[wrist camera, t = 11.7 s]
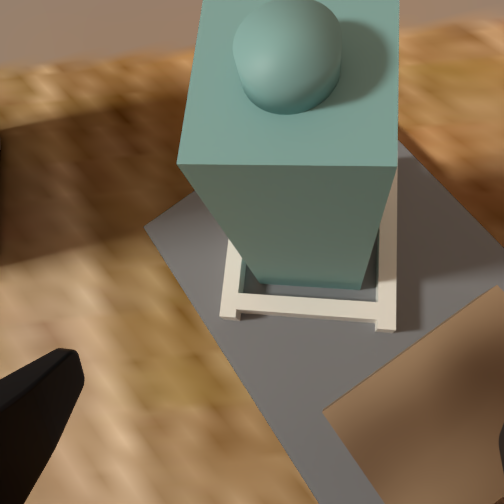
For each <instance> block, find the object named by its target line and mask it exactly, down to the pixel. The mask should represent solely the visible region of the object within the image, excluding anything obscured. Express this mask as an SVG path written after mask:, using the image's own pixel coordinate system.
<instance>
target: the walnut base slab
mask: <svg viewBox="0 0 504 504" xmlns="http://www.w3.org/2000/svg"><path fill="white" fill-rule="evenodd" d="M322 413H323V414H324V416H325V417H326V419H327V420H328V422H329V423H330V425H331V426H332V427H333V429H334V430H335V432H336V433H337V435H338V436H339V438H340V439H341V441H342V442H343V443H344V445H345V446H346V448H347V449H348V451H349V452H350V454H351V455H352V457H353V458H354V459H355V461H356V462H357V464H358V465H359V467H360V468H361V470H362V471H363V473H364V474H365V475H366V477H367V478H368V480H369V481H370V483H371V484H372V486H373V487H374V489H375V490H376V491H377V493H378V494H379V496H380V497H381V499H382V500H383V502H384V503H385V504H494V503H495V502H497V501H498V500H500V499H501V498H502V497H504V473H503V468H502V462H501V456H500V451H499V434H500V431H501V429H502V426H503V423H504V291H503V290H502V289H501V288H500V287H499V286H498V285H496V286H494V287H493V288H491V289H489V290H488V291H486V292H484V293H483V294H481V295H479V296H478V297H476V298H475V299H474V300H472V301H471V302H470V303H468V304H467V305H466V306H464V307H463V308H461V309H460V310H459V311H457V312H456V313H455V314H453V315H452V316H450V317H449V318H448V319H446V320H445V321H444V322H442V323H441V324H439V325H438V326H437V327H435V328H434V329H433V330H431V331H430V332H428V333H427V334H426V335H424V336H423V337H422V338H420V339H419V340H417V341H416V342H415V343H413V344H412V345H411V346H409V347H408V348H406V349H405V350H404V351H402V352H401V353H400V354H398V355H397V356H395V357H394V358H393V359H391V360H390V361H389V362H387V363H386V364H384V365H383V366H382V367H380V368H379V369H378V370H376V371H375V372H373V373H372V374H371V375H369V376H368V377H367V378H365V379H364V380H363V381H361V382H360V383H358V384H357V385H356V386H354V387H353V388H352V389H350V390H349V391H347V392H346V393H345V394H343V395H342V396H341V397H339V398H338V399H336V400H335V401H334V402H332V403H331V404H330V405H328V406H327V407H325V408H324V409H323V411H322Z"/></svg>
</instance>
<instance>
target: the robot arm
mask: <svg viewBox="0 0 504 504" xmlns="http://www.w3.org/2000/svg"><path fill="white" fill-rule="evenodd" d="M83 385H84V373H83V369H82V366H81V362H80V359H79V355H78V353H77V352H76V351H75V350H72V349H64V348H58V349H55V350H53V351H51V352H50V353H48V354H46V355H44V356H42V357H40V358H39V359H37V360H35V361H33V362H31V363H30V364H28V365H26V366H24V367H22V368H20V369H19V370H17V371H15V372H13V373H11V374H9V375H8V376H6V377H4V378H2V379H0V504H24V503H25V501H26V499H27V497H28V496H29V494H30V492H31V490H32V489H33V487H34V485H35V483H36V482H37V480H38V478H39V477H40V475H41V473H42V471H43V470H44V468H45V466H46V464H47V463H48V461H49V459H50V457H51V455H52V453H53V452H54V450H55V448H56V446H57V444H58V442H59V440H60V437H61V435H62V433H63V431H64V428H65V426H66V424H67V422H68V420H69V417H70V415H71V413H72V411H73V408H74V406H75V404H76V402H77V400H78V397H79V395H80V393H81V391H82V388H83ZM499 451H500V456H501V462H502V468H503V473H504V423H503V426H502V429H501V431H500V434H499Z"/></svg>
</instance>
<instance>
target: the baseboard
mask: <svg viewBox="0 0 504 504" xmlns="http://www.w3.org/2000/svg"><path fill="white" fill-rule="evenodd" d="M144 229H145V230H146V232H147V234H148V235H149V237H150V238H151V240H152V242H153V243H154V245H155V246H156V248H157V249H158V251H159V253H160V254H161V256H162V257H163V259H164V260H165V262H166V264H167V265H168V267H169V268H170V270H171V271H172V273H173V275H174V276H175V278H176V279H177V281H178V282H179V284H180V286H181V287H182V289H183V290H184V292H185V293H186V295H187V297H188V298H189V300H190V301H191V303H192V304H193V306H194V308H195V309H196V311H197V312H198V314H199V315H200V317H201V319H202V320H203V322H204V323H205V325H206V326H207V328H208V330H209V331H210V333H211V334H212V336H213V338H214V339H215V341H216V342H217V344H218V345H219V347H220V349H221V350H222V352H223V353H224V355H225V356H226V358H227V360H228V361H229V363H230V364H231V366H232V367H233V369H234V371H235V372H236V374H237V375H238V377H239V378H240V380H241V382H242V383H243V385H244V386H245V388H246V389H247V391H248V393H249V394H250V396H251V397H252V399H253V400H254V402H255V404H256V405H257V407H258V408H259V410H260V411H261V413H262V415H263V416H264V418H265V419H266V421H267V423H268V424H269V426H270V427H271V429H272V430H273V432H274V434H275V435H276V437H277V438H278V440H279V441H280V443H281V445H282V446H283V448H284V449H285V451H286V452H287V454H288V456H289V457H290V459H291V460H292V462H293V463H294V465H295V467H296V468H297V470H298V471H299V473H300V474H301V476H302V478H303V479H304V481H305V482H306V484H307V485H308V487H309V489H310V490H311V492H312V493H313V495H314V496H315V498H316V500H317V501H318V503H319V504H385V503H384V502H383V500H382V499H381V497H380V496H379V494H378V493H377V491H376V490H375V489H374V487H373V486H372V484H371V483H370V481H369V480H368V478H367V477H366V475H365V474H364V473H363V471H362V470H361V468H360V467H359V465H358V464H357V462H356V461H355V459H354V458H353V457H352V455H351V454H350V452H349V451H348V449H347V448H346V446H345V445H344V443H343V442H342V441H341V439H340V438H339V436H338V435H337V433H336V432H335V430H334V429H333V427H332V426H331V425H330V423H329V422H328V420H327V419H326V417H325V416H324V414H323V413H322V411H323V409H324V408H325V407H327V406H328V405H330V404H331V403H332V402H334V401H335V400H336V399H338V398H339V397H341V396H342V395H343V394H345V393H346V392H347V391H349V390H350V389H352V388H353V387H354V386H356V385H357V384H358V383H360V382H361V381H363V380H364V379H365V378H367V377H368V376H369V375H371V374H372V373H373V372H375V371H376V370H378V369H379V368H380V367H382V366H383V365H384V364H386V363H387V362H389V361H390V360H391V359H393V358H394V357H395V356H397V355H398V354H400V353H401V352H402V351H404V350H405V349H406V348H408V347H409V346H411V345H412V344H413V343H415V342H416V341H417V340H419V339H420V338H422V337H423V336H424V335H426V334H427V333H428V332H430V331H431V330H433V329H434V328H435V327H437V326H438V325H439V324H441V323H442V322H444V321H445V320H446V319H448V318H449V317H450V316H452V315H453V314H455V313H456V312H457V311H459V310H460V309H461V308H463V307H464V306H466V305H467V304H468V303H470V302H471V301H472V300H474V299H475V298H476V297H478V296H479V295H481V294H483V293H484V292H486V291H488V290H489V289H491V288H493V287H494V286H496V285H498V286H499V287H500V288H501V289H502V290H503V291H504V248H503V247H502V246H501V245H500V244H499V243H498V242H497V241H496V240H495V239H494V238H493V236H492V235H491V234H490V233H489V232H488V231H487V230H486V229H485V228H484V227H483V226H482V225H481V224H480V223H479V222H478V221H477V220H476V219H475V218H474V217H473V216H472V215H471V214H470V213H469V212H468V211H467V210H466V209H465V208H464V207H463V206H462V205H461V204H460V203H459V202H458V201H457V200H456V199H455V198H454V197H453V196H452V195H451V194H450V193H449V192H448V190H447V189H446V188H445V187H444V186H443V185H442V184H441V183H440V182H439V181H438V180H437V179H436V178H435V177H434V176H433V175H432V174H431V173H430V172H429V171H428V170H427V169H426V168H425V167H424V166H423V165H422V164H421V163H420V162H419V161H418V160H417V159H416V158H415V157H414V156H413V155H412V154H411V153H410V152H409V151H408V150H407V149H406V148H405V147H404V146H403V144H402V143H401V142H400V141H399V140H398V158H397V169H396V173H395V176H394V179H393V183H392V186H391V189H390V193H389V196H388V199H387V203H386V206H385V209H384V212H383V216H382V219H381V222H380V226H379V229H378V232H377V236H376V239H375V242H374V246H373V249H372V252H371V255H370V259H369V262H368V265H367V269H366V272H365V275H364V279H363V282H362V285H361V289H360V290H350V289H334V288H318V287H302V286H287V285H271V284H260V283H259V281H258V280H257V279H256V277H255V276H254V274H253V273H252V271H251V270H250V269H249V267H248V266H247V264H246V263H245V261H244V260H243V259H242V257H241V256H240V254H239V253H238V251H237V250H236V249H235V247H234V246H233V244H232V243H231V241H230V240H229V239H228V237H227V236H226V234H225V233H224V231H223V230H222V228H221V227H220V226H219V224H218V223H217V221H216V220H215V218H214V217H213V216H212V214H211V213H210V211H209V210H208V208H207V207H206V206H205V204H204V203H203V201H202V200H201V198H200V197H199V196H198V194H197V193H196V191H193V192H192V193H191V194H189V195H188V196H186V197H185V198H183V199H182V200H181V201H179V202H178V203H176V204H175V205H174V206H172V207H171V208H169V209H168V210H166V211H165V212H164V213H162V214H161V215H159V216H158V217H156V218H155V219H154V220H152V221H151V222H149V223H148V224H147V225H145V226H144Z"/></svg>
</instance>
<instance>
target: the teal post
mask: <svg viewBox="0 0 504 504" xmlns="http://www.w3.org/2000/svg"><path fill="white" fill-rule="evenodd" d="M398 69H399V0H203V4H202V10H201V17H200V22H199V28H198V35H197V41H196V47H195V53H194V59H193V65H192V71H191V78H190V84H189V90H188V96H187V102H186V108H185V115H184V121H183V127H182V133H181V139H180V145H179V152H178V158H177V166H178V167H179V168H180V170H181V171H182V173H183V174H184V176H185V177H186V178H187V180H188V181H189V183H190V184H191V186H192V187H193V188H194V190H195V191H196V193H197V194H198V196H199V197H200V198H201V200H202V201H203V203H204V204H205V206H206V207H207V208H208V210H209V211H210V213H211V214H212V216H213V217H214V218H215V220H216V221H217V223H218V224H219V226H220V227H221V228H222V230H223V231H224V233H225V234H226V236H227V237H228V239H229V240H230V241H231V243H232V244H233V246H234V247H235V249H236V250H237V251H238V253H239V254H240V256H241V257H242V259H243V260H244V261H245V263H246V264H247V266H248V267H249V269H250V270H251V271H252V273H253V274H254V276H255V277H256V279H257V280H258V281H259V283H260V284H271V285H287V286H302V287H318V288H334V289H350V290H360V289H361V285H362V282H363V279H364V275H365V272H366V269H367V265H368V262H369V259H370V255H371V252H372V249H373V246H374V242H375V239H376V236H377V232H378V229H379V226H380V222H381V219H382V216H383V212H384V209H385V206H386V203H387V199H388V196H389V193H390V189H391V186H392V183H393V179H394V176H395V173H396V169H397V158H398Z"/></svg>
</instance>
